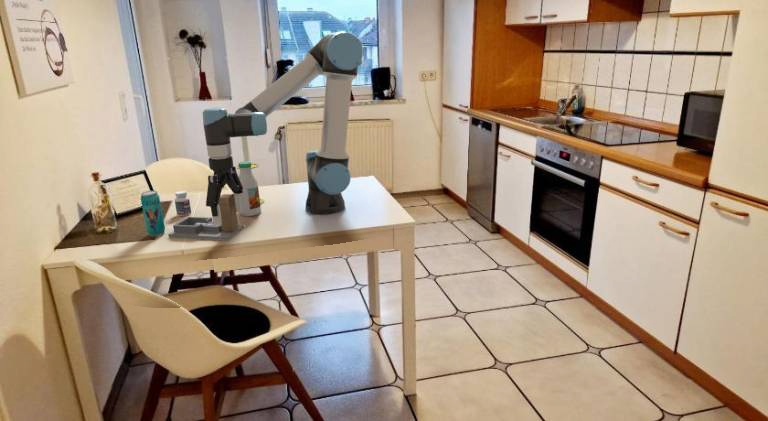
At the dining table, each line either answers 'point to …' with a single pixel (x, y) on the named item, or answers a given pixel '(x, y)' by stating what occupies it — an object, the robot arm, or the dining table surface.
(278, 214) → the dining table surface
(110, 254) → the dining table surface
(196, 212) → the dining table surface
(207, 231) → the dock
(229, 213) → the lock pin
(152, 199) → the beverage can
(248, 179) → the milk bottle
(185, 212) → the pill bottle
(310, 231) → the dining table surface
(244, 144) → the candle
